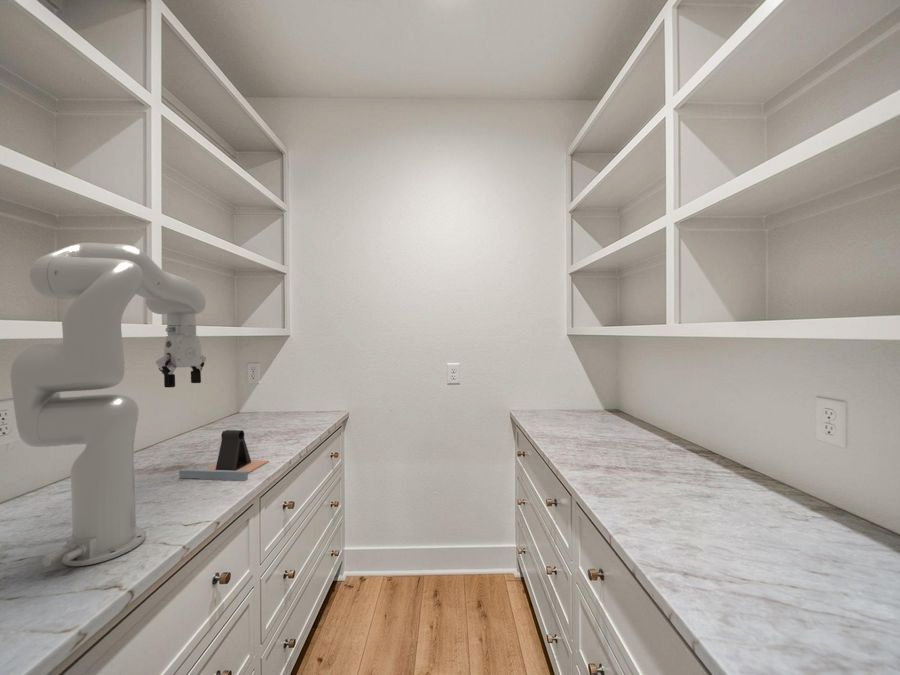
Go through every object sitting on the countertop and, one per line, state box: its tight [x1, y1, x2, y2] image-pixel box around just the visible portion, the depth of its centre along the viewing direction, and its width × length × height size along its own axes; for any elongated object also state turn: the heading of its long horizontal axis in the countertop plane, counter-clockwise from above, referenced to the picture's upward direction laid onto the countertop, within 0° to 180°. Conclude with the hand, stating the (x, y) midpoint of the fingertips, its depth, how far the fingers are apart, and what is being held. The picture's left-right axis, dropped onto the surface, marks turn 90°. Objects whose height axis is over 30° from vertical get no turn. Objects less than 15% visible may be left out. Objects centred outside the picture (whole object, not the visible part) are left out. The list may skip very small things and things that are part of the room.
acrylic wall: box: [178, 468, 249, 482], centre depth 113 cm, size 1×22×2 cm, turn 82°
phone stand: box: [215, 429, 252, 471], centre depth 122 cm, size 9×6×12 cm, turn 172°
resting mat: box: [204, 459, 270, 474], centre depth 122 cm, size 13×16×1 cm
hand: (183, 385), depth 119 cm, fingers open, 9 cm apart
